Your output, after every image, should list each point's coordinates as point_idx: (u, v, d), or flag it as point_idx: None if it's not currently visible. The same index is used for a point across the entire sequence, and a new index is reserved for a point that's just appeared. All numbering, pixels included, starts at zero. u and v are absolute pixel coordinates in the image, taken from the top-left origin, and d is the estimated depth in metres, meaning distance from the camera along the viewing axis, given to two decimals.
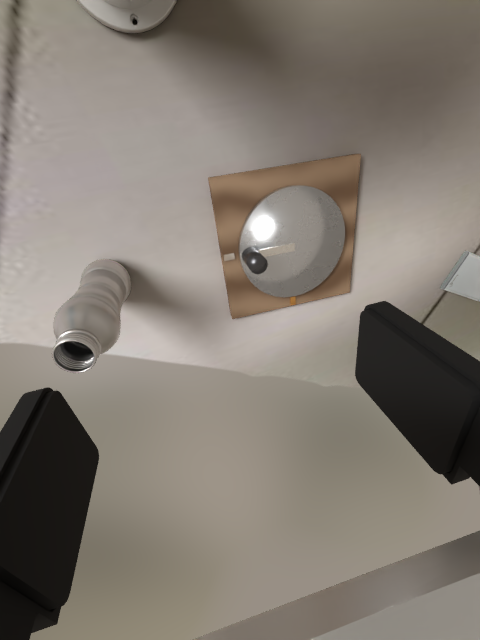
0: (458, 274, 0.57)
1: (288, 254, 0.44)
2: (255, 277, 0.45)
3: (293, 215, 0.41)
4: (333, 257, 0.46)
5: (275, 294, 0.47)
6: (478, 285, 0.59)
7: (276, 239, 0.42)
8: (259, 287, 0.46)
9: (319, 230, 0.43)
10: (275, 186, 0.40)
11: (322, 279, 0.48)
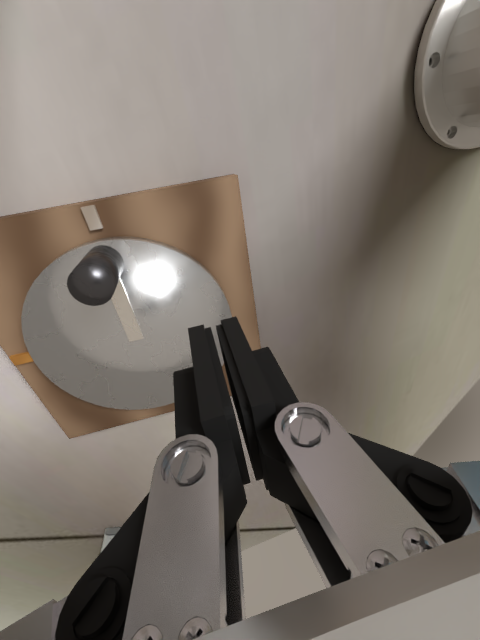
0: None
1: (120, 332, 0.24)
2: (57, 279, 0.21)
3: (189, 326, 0.25)
4: (128, 401, 0.28)
5: (26, 325, 0.22)
6: None
7: (145, 307, 0.23)
8: (34, 290, 0.21)
9: (169, 369, 0.27)
10: (227, 290, 0.26)
11: (83, 397, 0.27)
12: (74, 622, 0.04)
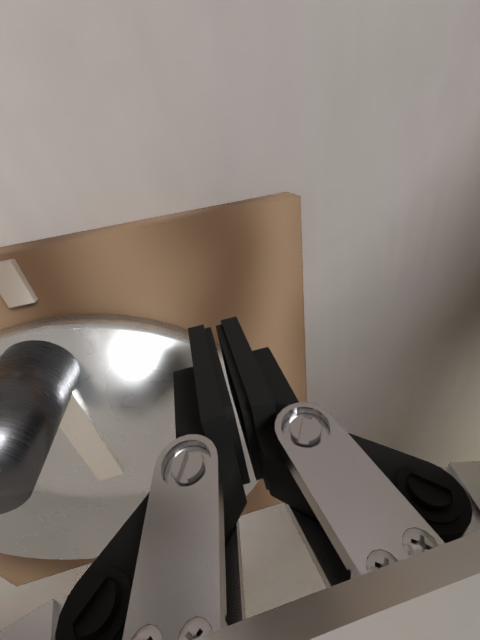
0: None
1: (82, 468, 0.14)
2: None
3: None
4: (102, 548, 0.18)
5: None
6: None
7: (125, 429, 0.13)
8: None
9: None
10: None
11: (27, 554, 0.16)
12: (74, 622, 0.04)
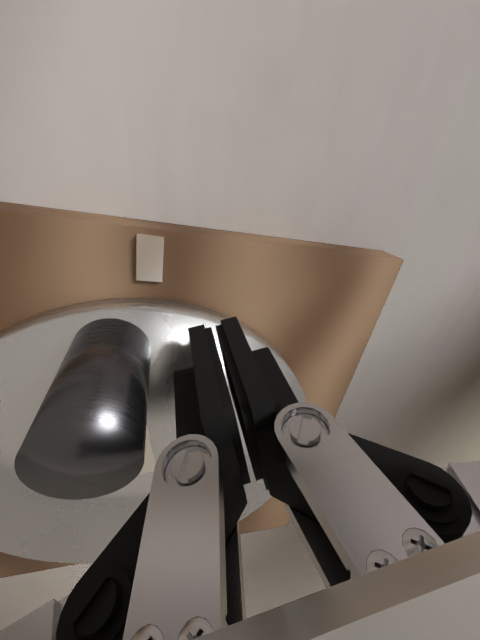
0: None
1: None
2: (1, 375, 0.10)
3: None
4: None
5: None
6: None
7: (172, 423, 0.13)
8: None
9: None
10: None
11: (27, 554, 0.15)
12: (75, 622, 0.04)
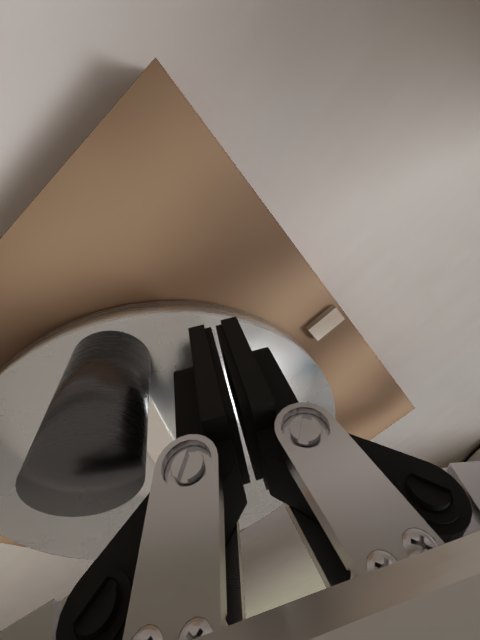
0: None
1: (147, 464, 0.13)
2: (15, 402, 0.10)
3: None
4: None
5: None
6: None
7: None
8: None
9: None
10: None
11: (89, 556, 0.16)
12: (75, 622, 0.04)
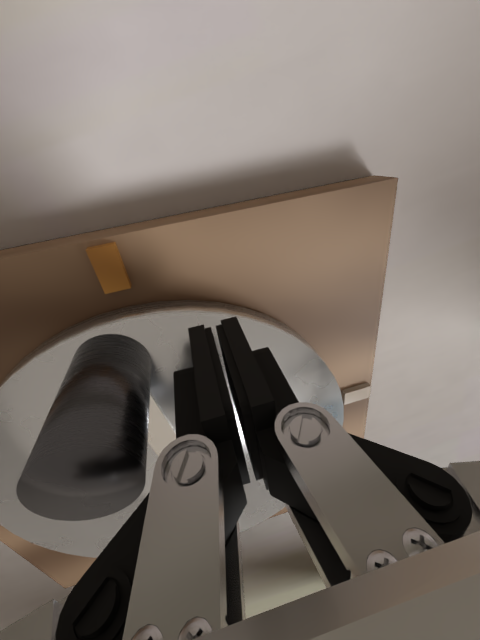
0: None
1: None
2: (22, 409, 0.10)
3: None
4: None
5: None
6: None
7: None
8: None
9: None
10: None
11: None
12: (75, 622, 0.04)
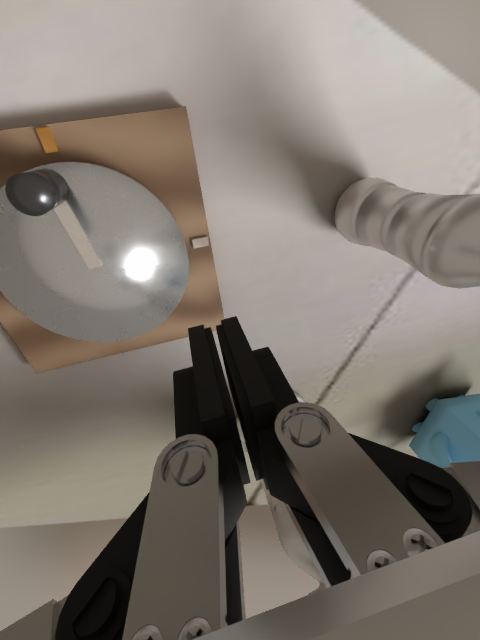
0: None
1: (79, 260, 0.26)
2: (8, 206, 0.22)
3: (144, 251, 0.27)
4: (100, 333, 0.30)
5: None
6: None
7: (98, 232, 0.25)
8: None
9: (133, 297, 0.29)
10: None
11: (57, 330, 0.29)
12: (74, 622, 0.04)
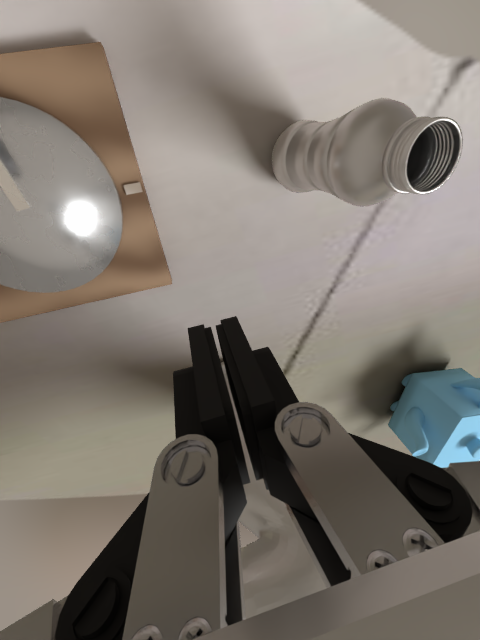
0: None
1: (6, 202, 0.26)
2: None
3: (72, 194, 0.27)
4: (37, 282, 0.30)
5: None
6: None
7: (22, 172, 0.25)
8: None
9: (67, 244, 0.29)
10: (88, 283, 0.33)
11: None
12: (74, 622, 0.04)
